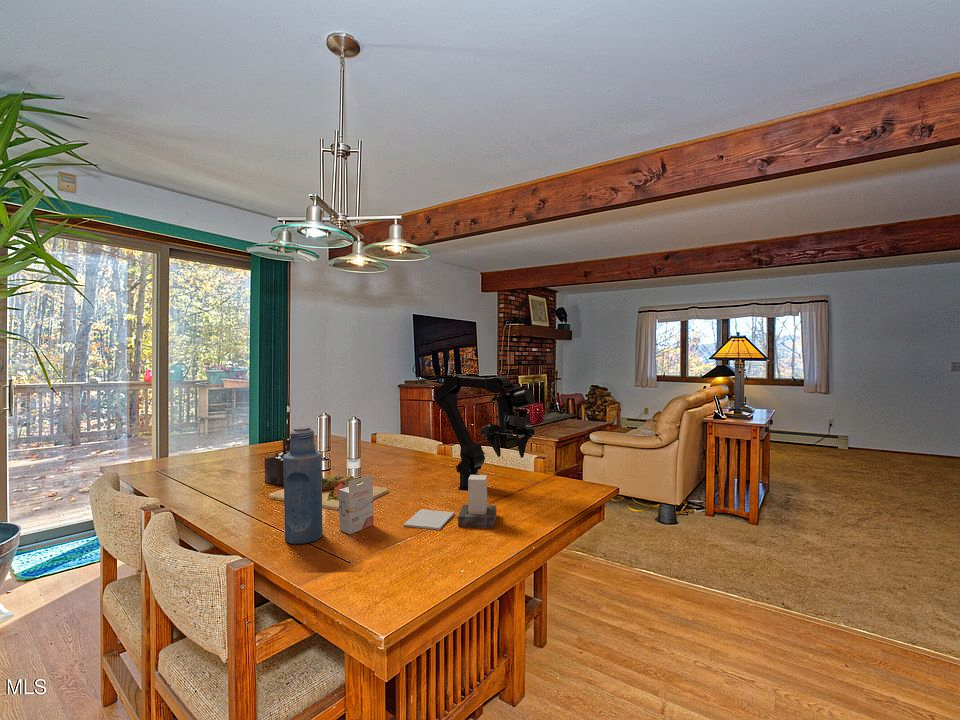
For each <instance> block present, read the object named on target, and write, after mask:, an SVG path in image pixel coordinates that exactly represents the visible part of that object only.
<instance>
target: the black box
mask: <svg viewBox="0 0 960 720" xmlns="http://www.w3.org/2000/svg"><path fill="white" fill-rule="evenodd" d="M281 444H282V451H279V452H277V453H275V454H274V455H273V456H268V457H267V456H266V457H264V483H267V484H272V485H278V486H279V485H280V486H284V476H283V457H284V455H285V454H287V453H290V444H291V437H287V438H286V437H285V438H282V443H281Z"/></svg>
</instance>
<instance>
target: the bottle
mask: <svg viewBox="0 0 960 720" xmlns="http://www.w3.org/2000/svg"><path fill="white" fill-rule="evenodd" d="M289 436H290V437H289V438H291V444H290V451H289V452H290V453H287V454H285V455H284V457H283V476H284V485H283V489H284V501H283V503H284V504H283V505H284V507H283V508H284V509H283V510H284V541H285V542H286V543H287V544H290V545H295V546H296V545H297V544H301V545H305V544H306V545H307V544H311V543H314V542H317V541H318V540H320V539H321V538H322V537H323V535H324V534H323V508H322V477H323V473H322V472H323V471H322V470H323V467H322V466H323V464H322V463H323V460H322V459H323V458H322V455H323V454H322V452H321V451H320V450H316V444H315V440H314V439H315V431H314V430H313V429H312V428H311V426H303V425H302V426H297V427H294V428H293V430H292V431H290V433H289Z"/></svg>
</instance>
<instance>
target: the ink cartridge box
mask: <svg viewBox="0 0 960 720" xmlns="http://www.w3.org/2000/svg"><path fill="white" fill-rule="evenodd" d="M360 481H361V483H360V484H357V483H359V482H360ZM356 484H357V485H356ZM348 485H349V487H346V488H343V489H339V511H338V518H339V531H340V532H343V533H345V534H348V535H351V534H354V533H357V532H360V531H362V530H364V529H367V528H369V527H372V526H374V500H373V486H374V485H373V478H372V475H370V474H369V475H367V476H362V477H358V478H355V480H351V481H349V482H348Z"/></svg>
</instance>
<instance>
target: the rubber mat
mask: <svg viewBox="0 0 960 720" xmlns="http://www.w3.org/2000/svg"><path fill="white" fill-rule="evenodd" d="M454 515H455V511H454V512H453V511H443V510H434V509H424V508H423V509H421V508H420V509H419V511H417V512H415V514H414V515H413V516H411V517H410V518H409V519H408V520H407V521H406V522H404V523H403V527H407V528H417V529H426V530H435V531H436V530H437V531H440V530H441V529H443V527H444V526H445V525H446V524H447V523H448V522H449V521H450V520H451V519H452V517H454Z"/></svg>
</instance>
